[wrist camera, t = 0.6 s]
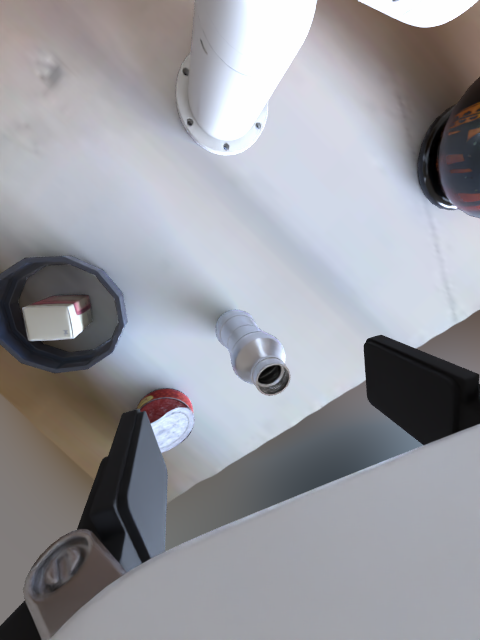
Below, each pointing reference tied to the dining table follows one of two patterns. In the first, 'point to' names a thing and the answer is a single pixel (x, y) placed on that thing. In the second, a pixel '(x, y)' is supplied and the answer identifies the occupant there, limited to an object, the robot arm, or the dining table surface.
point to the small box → (57, 317)
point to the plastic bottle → (253, 352)
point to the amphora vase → (454, 156)
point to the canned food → (168, 416)
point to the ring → (10, 332)
